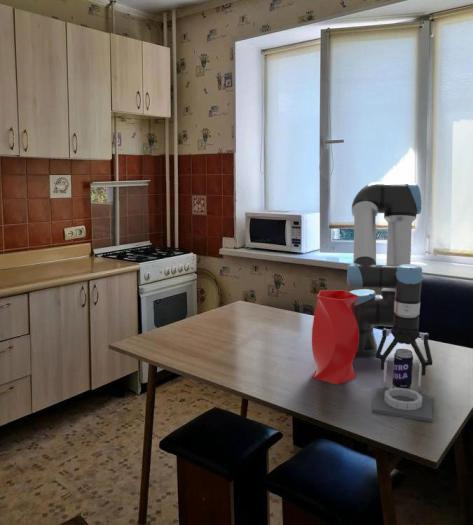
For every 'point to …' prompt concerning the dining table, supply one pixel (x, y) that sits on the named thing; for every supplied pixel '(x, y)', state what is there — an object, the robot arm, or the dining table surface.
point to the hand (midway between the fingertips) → (401, 382)
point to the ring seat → (403, 403)
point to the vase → (335, 336)
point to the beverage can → (402, 368)
